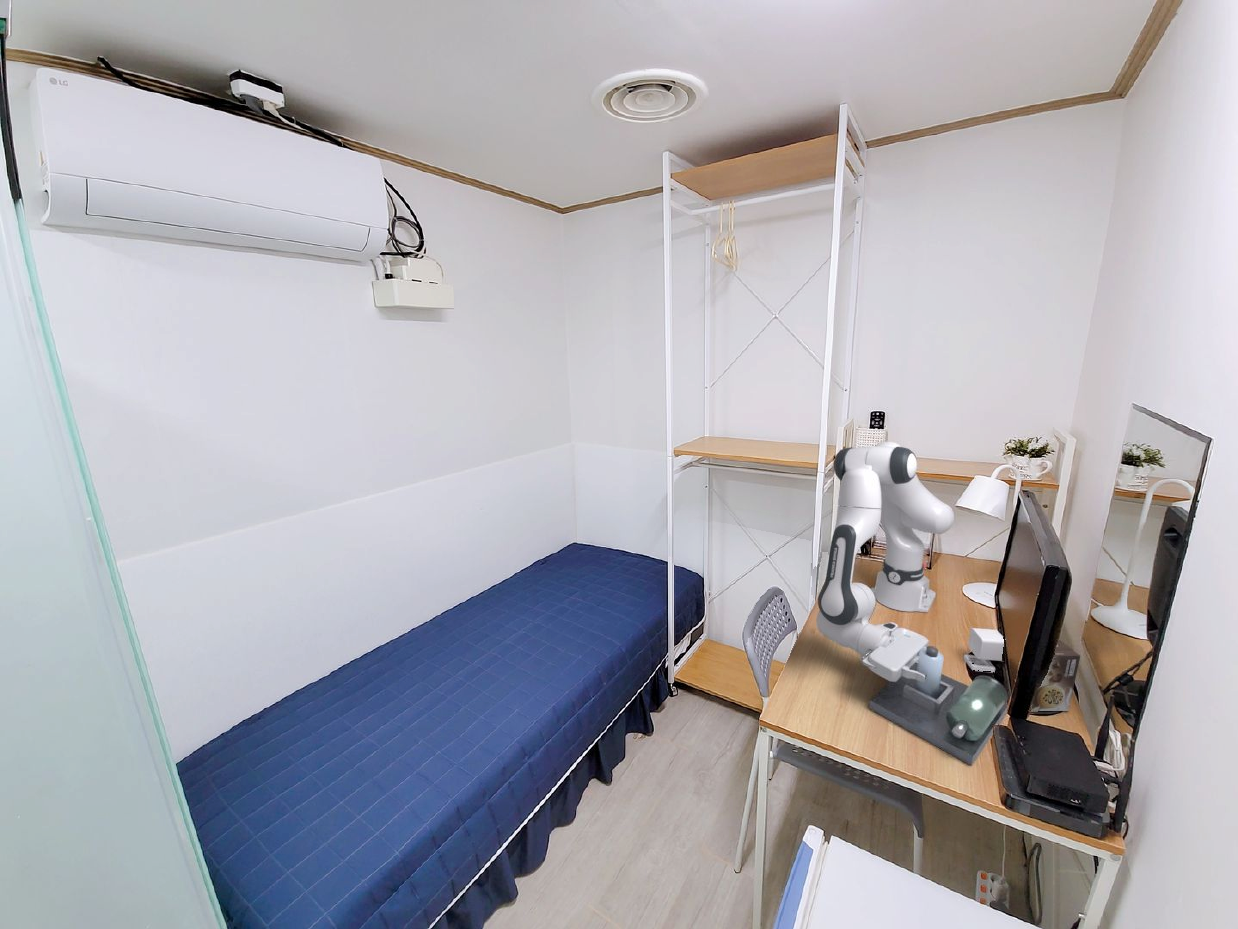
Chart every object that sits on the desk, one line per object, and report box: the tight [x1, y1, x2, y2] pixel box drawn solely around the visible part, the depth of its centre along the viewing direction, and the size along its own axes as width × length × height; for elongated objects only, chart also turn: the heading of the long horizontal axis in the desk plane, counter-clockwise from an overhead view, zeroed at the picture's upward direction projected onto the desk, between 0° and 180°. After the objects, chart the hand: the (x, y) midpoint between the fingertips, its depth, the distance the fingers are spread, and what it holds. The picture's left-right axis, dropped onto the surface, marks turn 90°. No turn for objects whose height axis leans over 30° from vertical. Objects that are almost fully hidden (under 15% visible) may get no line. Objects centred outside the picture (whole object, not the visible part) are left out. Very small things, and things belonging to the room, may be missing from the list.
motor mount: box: [868, 662, 1009, 767], centre depth 121 cm, size 24×22×10 cm
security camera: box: [963, 627, 1004, 673], centre depth 137 cm, size 6×7×10 cm
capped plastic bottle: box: [914, 645, 945, 700], centre depth 122 cm, size 5×5×14 cm
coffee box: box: [1029, 639, 1081, 713], centre depth 122 cm, size 9×6×16 cm
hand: (933, 670), depth 121 cm, fingers open, 8 cm apart
